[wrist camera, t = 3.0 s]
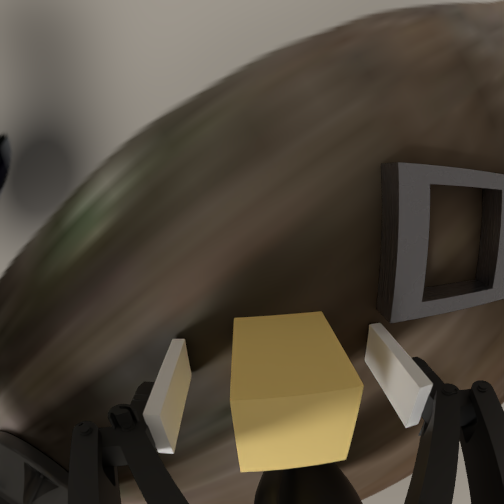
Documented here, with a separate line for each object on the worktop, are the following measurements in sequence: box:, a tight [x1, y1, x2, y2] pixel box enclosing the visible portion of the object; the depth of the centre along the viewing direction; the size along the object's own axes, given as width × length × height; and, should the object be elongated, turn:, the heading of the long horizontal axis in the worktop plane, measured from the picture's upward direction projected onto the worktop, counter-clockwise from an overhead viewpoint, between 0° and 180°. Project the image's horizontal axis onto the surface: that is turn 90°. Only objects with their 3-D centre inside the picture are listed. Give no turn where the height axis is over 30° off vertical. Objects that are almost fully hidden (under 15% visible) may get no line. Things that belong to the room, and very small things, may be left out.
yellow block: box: [230, 311, 364, 472], centre depth 14 cm, size 5×5×7 cm
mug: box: [254, 462, 362, 504], centre depth 15 cm, size 8×12×10 cm
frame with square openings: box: [376, 162, 504, 323], centre depth 15 cm, size 20×8×2 cm, turn 93°
